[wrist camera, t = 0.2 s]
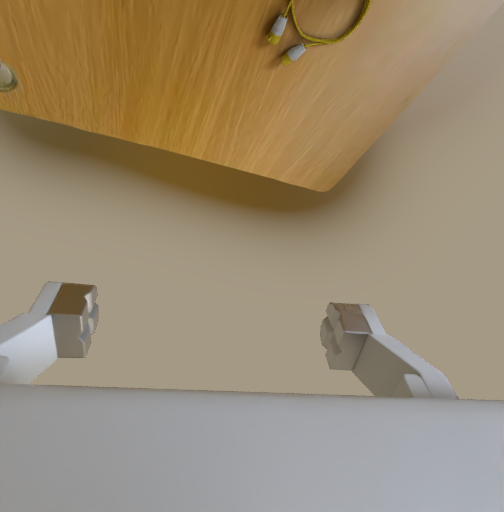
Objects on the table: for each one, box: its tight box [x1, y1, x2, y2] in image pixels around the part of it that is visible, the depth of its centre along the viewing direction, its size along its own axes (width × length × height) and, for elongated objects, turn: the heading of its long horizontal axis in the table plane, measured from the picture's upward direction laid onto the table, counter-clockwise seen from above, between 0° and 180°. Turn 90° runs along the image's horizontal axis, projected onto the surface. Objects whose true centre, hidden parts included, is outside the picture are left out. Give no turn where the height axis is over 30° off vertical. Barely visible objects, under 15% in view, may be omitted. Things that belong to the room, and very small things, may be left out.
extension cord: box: [266, 0, 371, 66], centre depth 57 cm, size 12×16×2 cm
